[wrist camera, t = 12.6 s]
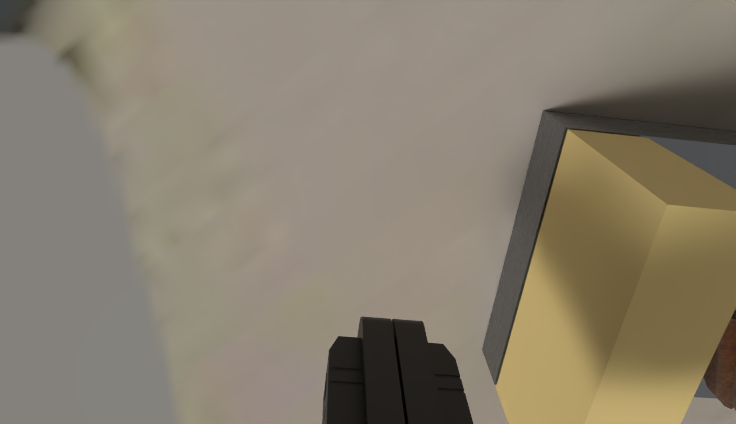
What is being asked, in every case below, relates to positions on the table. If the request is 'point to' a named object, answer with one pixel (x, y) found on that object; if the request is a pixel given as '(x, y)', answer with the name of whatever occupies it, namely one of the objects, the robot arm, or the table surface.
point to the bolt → (724, 367)
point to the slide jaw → (621, 288)
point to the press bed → (696, 145)
